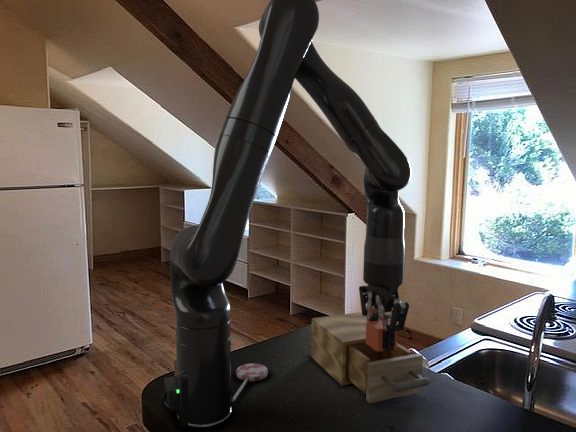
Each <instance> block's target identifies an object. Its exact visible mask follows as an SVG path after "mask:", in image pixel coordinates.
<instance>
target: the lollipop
mask: <svg viewBox="0 0 576 432" xmlns="http://www.w3.org/2000/svg"><path fill="white" fill-rule="evenodd" d="M268 374H269V370H268V368H267V367H266V366H265V365H263V364H262V363H261V364H260V363H251V362H250V363H245V364H241V365H240V366H238V367H237V368H236V370H235V375H236V377H237V378H238V379H239V380H242V381H243V382H242V384H241V385H240V387H238V389H237V390H236V392H235V394H234V395H232V397H231V402H235V401H236V399H237V398H238V396H239V394H240V393H241V392H242V391H243V389H244V388H245V386H246V384H247V383H248V382H258V381H262V380H264V379H266V378H267V376H268Z"/></svg>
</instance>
